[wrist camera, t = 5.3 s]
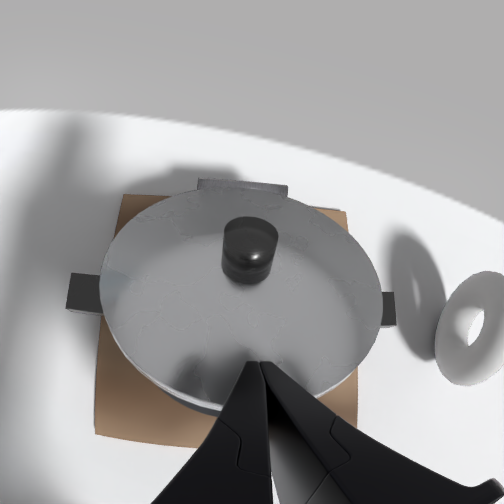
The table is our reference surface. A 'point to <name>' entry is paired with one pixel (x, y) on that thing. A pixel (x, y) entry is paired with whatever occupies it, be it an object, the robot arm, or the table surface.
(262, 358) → the cooker lid
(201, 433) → the walnut trivet
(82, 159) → the table surface
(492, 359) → the donut
